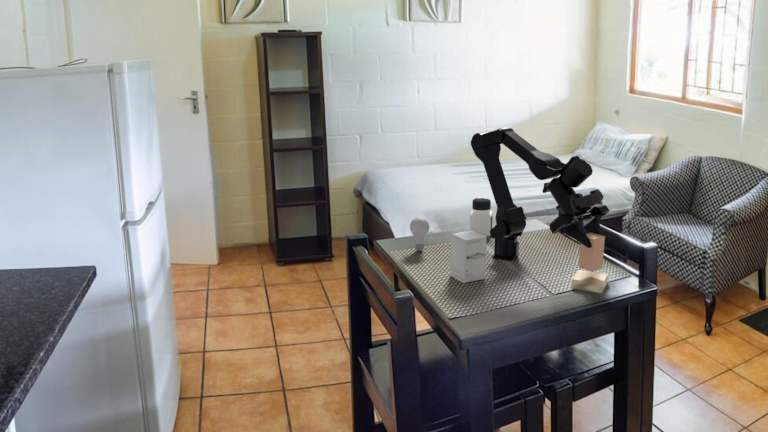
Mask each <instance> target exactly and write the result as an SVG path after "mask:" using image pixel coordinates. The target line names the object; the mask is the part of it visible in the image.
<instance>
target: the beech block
mask: <svg viewBox="0 0 768 432" xmlns="http://www.w3.org/2000/svg"><path fill="white" fill-rule="evenodd" d="M608 280H609V274H608V273H604V272H603V273H602V272H595V271H593V272H591V271H588V270H581V269H578V270H577V271H576V273H575V274H574V276H573V277H572V278H571V289H572V290H573V289H574V290H579V291H587V292H591V293H592V292H593V293H598V294H599V293H600V294H603V292H604V290H605V288H606V286H607V284H608Z"/></svg>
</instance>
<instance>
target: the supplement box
mask: <svg viewBox="0 0 768 432" xmlns="http://www.w3.org/2000/svg"><path fill="white" fill-rule="evenodd" d="M449 256H450V259H449V260H450V262H449V276H450V277H452V278H453V279H455V280H457V281H459V282H461V283H462V284H466V283H470V282H475V281H480V280H485V279H486V261H487V236H484V235H482V234H480V233H477V232H475V231H470V230H468V231H467V230H466V231H461V232H455V233H454V232H453V233H450V255H449Z"/></svg>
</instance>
